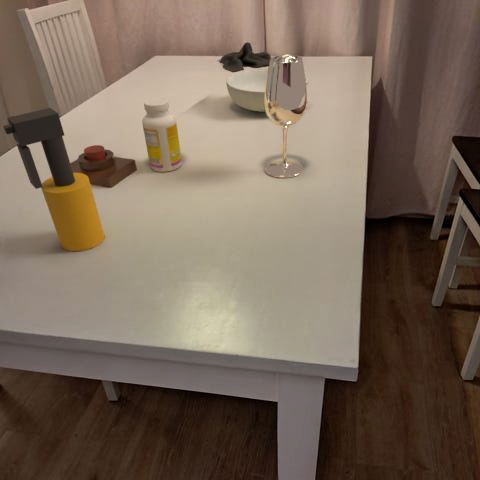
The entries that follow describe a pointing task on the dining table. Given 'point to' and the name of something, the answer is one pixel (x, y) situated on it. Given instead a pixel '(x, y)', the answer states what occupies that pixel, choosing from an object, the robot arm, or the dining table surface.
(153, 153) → the supplement bottle
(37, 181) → the trigger
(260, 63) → the cloth
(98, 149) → the button
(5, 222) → the dining table surface
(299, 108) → the wineglass
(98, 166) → the button block
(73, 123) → the dining table surface
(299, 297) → the dining table surface
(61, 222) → the spray bottle
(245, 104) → the serving bowl
